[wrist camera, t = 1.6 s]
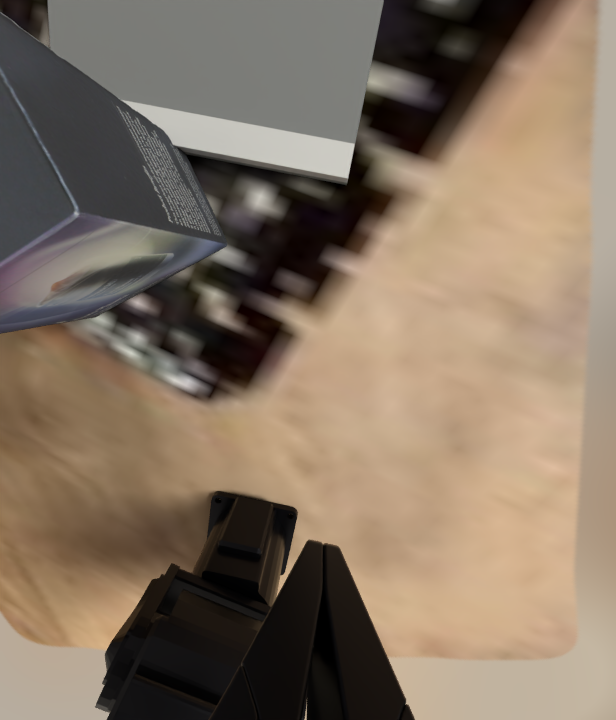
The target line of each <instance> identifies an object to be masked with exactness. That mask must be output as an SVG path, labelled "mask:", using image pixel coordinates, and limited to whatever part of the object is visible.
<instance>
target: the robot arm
mask: <svg viewBox="0 0 616 720" xmlns="http://www.w3.org/2000/svg"><path fill="white" fill-rule="evenodd" d="M218 498H220V499H221V500H219V499H218ZM289 514H293V515H289ZM297 514H298V512H297V510H296V509H295V508H293V507H290V506H285V505H280V504H276V503H271V502H266V501H262V500H257V499H253V498H248V497H243V496H239V495H234V494H229V493H225V492H219V491H218V492H216V493H214V495H213V497H212V500H211V509H210V518H209V527H208V536H207V542H206V544H205V546H204V548H203V550H202V552H201V555H200V557H199V559H198V561H197V563H196V566H195V568H194V570H193V572H192V573H189V572H187V571H184V570H182V569H180V567H179V566H177V565H175V564H171V565H170V567H169V569H168V570H167V572H166V574H165V575H163V574H162V575H161V576H160V578H157V579H153V580H152V581H151V582H150V584H149V586H148V588H147V589H146V591H145V593H144V595H143V596H142V598H141V600H140V601H139V603H138V605H137V606H136V608H135V609H134V611H133V612H132V614H131V615H130V616H129V618H128V619H127V621H126V622H125V623H124V625H123V626H122V627H121V629H120V630H119V632H118V633H117V634H116V636H115V637H114V639H113V640H112V642H111V643H110V645H109V647H108V649H107V651H106V653H105V661H106V668H107V673H106V676H105V678H104V680H103V683H102V684H103V685H105V686H104V688H103V690H102V692H101V694H100V696H99V699H98V701H97V703H96V706H95V707H96V708H98V709H101V710H103V711H106V712H109V713H110V714H109V716H108V718H107V720H304V719H305V711H306V703H307V720H415V719H414V716H413V714H412V712H411V709H410V707H409V705H407V704H406V698H405V696H404V694H403V691H402V689H401V687H400V685H399V682H398V680H397V678H396V675H395V673H394V671H393V669H392V666H391V664H390V662H389V659H388V657H387V655H386V653H385V650H384V648H383V646H382V644H381V641H380V639H379V637H378V634H377V632H376V630H375V628H374V625H373V623H372V621H371V618H370V616H369V614H368V612H367V609H366V607H365V605H364V602H363V600H362V598H361V596H360V593H359V591H358V589H357V586H356V584H355V582H354V580H353V577H352V575H351V573H350V570H349V568H348V566H347V564H346V561H345V559H344V557H343V554H342V552H341V550H340V548H339V547H338V546H336V545H332V544H327V543H325V544H322V542H319V541H314V540H308V541H307V542H306V544H305V546H304V548H303V550H302V551H301V553H300V555H299V557H298V559H297V561H296V562H295V564H294V566H293V568H292V570H291V572H290V574H289V575H288V577H287V579H286V581H285V583H284V585H283V586H282V588H281V590H280V592H279V594H278V596H277V591H278V585H279V579H280V575H283V574H284V573H285V569H286V565H287V560H288V556H289V551H290V547H291V542H292V538H293V533H294V529H295V524H296V520H297ZM276 596H277V598H276ZM405 704H406V705H405Z"/></svg>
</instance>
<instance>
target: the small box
mask: <svg viewBox="0 0 616 720" xmlns="http://www.w3.org/2000/svg"><path fill="white" fill-rule="evenodd" d="M226 246H227V241H226V238H225V236H224V234H223V232H222V230H221V228H220V225H219V223H218V221H217V219H216V217H215V215H214V213H213V210H212V208H211V206H210V204H209V202H208V200H207V198H206V195H205V193H204V191H203V189H202V187H201V185H200V183H199V181H198V179H197V177H196V175H195V173H194V171H193V169H192V166H191V164H190V162H189V160H188V158H187V156H186V154H185V152H184V151H182V150H180V149H179V148H177V147H176V146H174V145H173V144H172V142H171V140H170V138H169V137H168V135H167V134H166V133H165V132H164V130H162V129H161V128H160V127H158V126H157V125H156V124H153V123H152V122H151V121H150V120H148V119H147V118H146V117H145V116H143V115H142V114H140V113H139V112H137V111H135V110H134V109H132V108H131V107H130V106H129V105H128V104H126V103H125V102H124V101H122V100H120V99H119V98H118V97H116V96H115V95H114V94H112V93H111V92H110V91H108V90H107V89H105V88H104V87H102V86H101V85H100V84H98V83H97V82H96V81H94V80H93V79H92V78H90V77H89V76H88V75H86V74H85V73H84V72H82V71H81V70H80V69H78V68H76V67H75V66H73V65H72V64H70V63H69V62H68V61H66V60H65V59H64V58H61V57H59V56H58V55H57V54H56V53H55V52H54V51H52V50H51V49H50V48H49V47H47V46H45V45H44V44H42V43H41V42H40V41H38V40H37V39H35V38H34V37H33V36H31V35H30V34H29V33H27V32H26V31H24V30H23V29H22V28H20V27H19V26H18V25H17V24H16V23H15V22H13V21H12V20H11V19H10V18H8V17H7V16H5V15H4V14H2V13H1V12H0V334H1V333H7V332H12V331H18V330H24V329H30V328H35V327H41V326H46V325H52V324H58V323H64V322H70V321H76V320H81V319H87V318H93V317H96V316H99V315H100V314H102V313H104V312H106V311H108V310H110V309H111V308H113V307H115V306H117V305H119V304H121V303H122V302H124V301H126V300H128V299H130V298H132V297H134V296H135V295H138V294H139V293H141V292H143V291H145V290H146V289H149V288H150V287H152V286H154V285H156V284H158V283H160V282H162V281H163V280H165V279H167V278H169V277H171V276H173V275H174V274H176V273H178V272H180V271H182V270H184V269H185V268H187V267H189V266H191V265H193V264H195V263H197V262H199V261H201V260H202V259H204V258H206V257H208V256H209V255H211V254H213V253H215V252H217V251H219V250H220V249H223V248H224V247H226Z"/></svg>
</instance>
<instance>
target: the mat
mask: <svg viewBox="0 0 616 720" xmlns="http://www.w3.org/2000/svg"><path fill="white" fill-rule="evenodd" d="M383 2H384V0H48V18H49V37H50V49H51V50H52V51H54V52H55V53H56V54H57V55H58V56H59V57H61V58H64V59H65V60H66V61H68V62H69V63H70V64H72V65H73V66H75V67H76V68H78V69H80V70H81V71H82V72H84V73H85V74H86V75H88V76H89V77H90V78H92V79H93V80H94V81H96V82H97V83H98V84H100V85H101V86H102V87H104V88H105V89H107V90H108V91H110V92H111V93H112V94H114V95H115V96H116V97H118V98H119V99H120V100H122V101H124V102H125V103H126V104H128V105H129V106H130V107H131V108H132V109H134V110H135V111H137V112H139V113H140V114H142V115H143V116H145V117H146V118H147V119H148V120H150V121H151V122H152V123H153V124H156V125H157V126H158V127H160V128H161V129H162V130H164V132H165V133H166V134H167V135H168V137H169V138H170V140H171V142H172V144H173V145H174V146H176V147H177V148H179V149H180V150H182V151H184V152H185V154H188V155H193V156H198V157H203V158H208V159H214V160H219V161H224V162H229V163H235V164H240V165H245V166H250V167H255V168H261V169H266V170H271V171H276V172H282V173H287V174H292V175H297V176H302V177H308V178H313V179H318V180H323V181H329V182H334V183H339V184H344V185H347V181H348V176H349V171H350V166H351V161H352V156H353V151H354V146H355V141H356V136H357V131H358V126H359V121H360V116H361V111H362V106H363V101H364V96H365V91H366V86H367V81H368V76H369V71H370V66H371V61H372V56H373V51H374V47H375V42H376V37H377V32H378V27H379V22H380V17H381V12H382V7H383Z"/></svg>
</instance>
